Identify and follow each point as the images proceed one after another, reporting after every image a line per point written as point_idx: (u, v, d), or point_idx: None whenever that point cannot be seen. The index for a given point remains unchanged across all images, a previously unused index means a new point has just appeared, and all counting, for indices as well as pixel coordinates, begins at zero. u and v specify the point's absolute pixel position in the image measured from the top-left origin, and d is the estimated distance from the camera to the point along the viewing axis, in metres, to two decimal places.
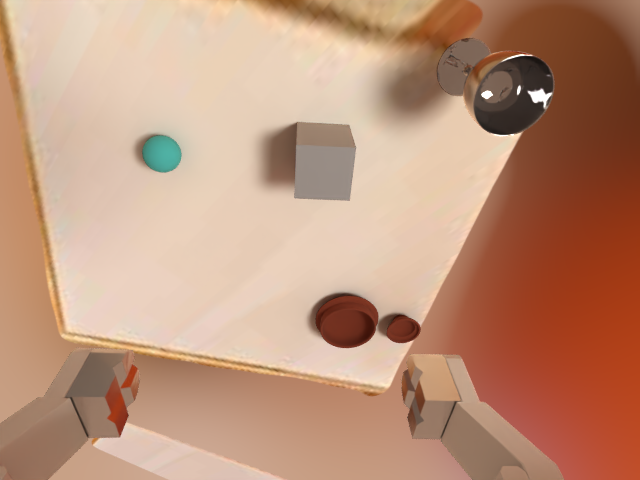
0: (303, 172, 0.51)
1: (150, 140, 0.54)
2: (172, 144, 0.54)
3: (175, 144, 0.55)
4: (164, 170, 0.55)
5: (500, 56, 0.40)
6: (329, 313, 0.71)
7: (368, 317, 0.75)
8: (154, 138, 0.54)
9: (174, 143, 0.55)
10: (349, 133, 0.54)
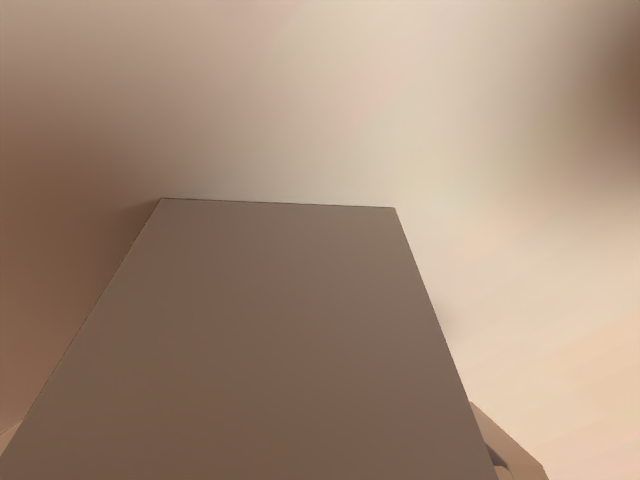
0: None
1: None
2: None
3: None
4: None
5: None
6: None
7: None
8: None
9: None
10: (410, 279, 0.10)
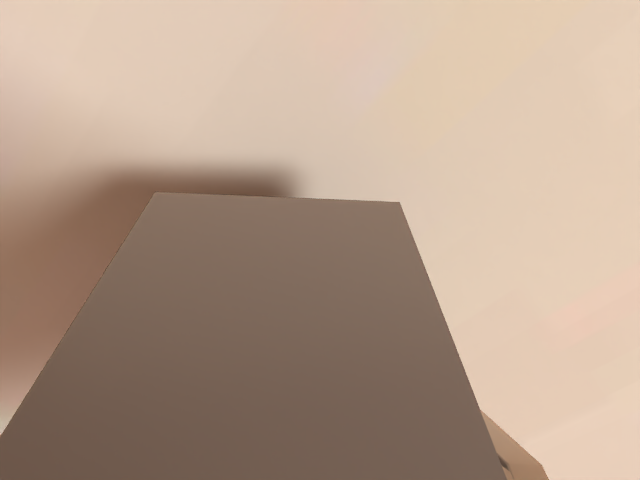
0: None
1: None
2: None
3: None
4: None
5: None
6: None
7: None
8: None
9: None
10: (416, 279, 0.09)
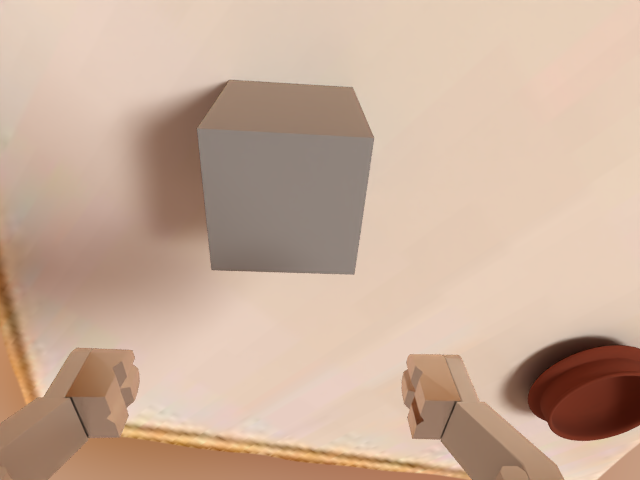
0: (227, 206, 0.18)
1: None
2: None
3: None
4: None
5: None
6: (579, 383, 0.35)
7: (633, 382, 0.39)
8: None
9: None
10: (354, 103, 0.21)
